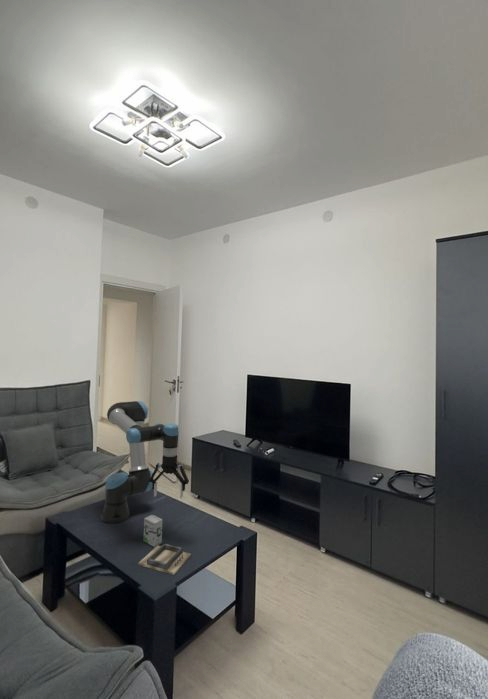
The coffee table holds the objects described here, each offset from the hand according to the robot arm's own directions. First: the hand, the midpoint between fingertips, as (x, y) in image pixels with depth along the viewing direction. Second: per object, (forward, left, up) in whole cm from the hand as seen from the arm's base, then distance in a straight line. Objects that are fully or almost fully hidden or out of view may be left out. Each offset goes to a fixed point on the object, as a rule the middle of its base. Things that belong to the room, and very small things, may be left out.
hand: (168, 496), depth 177 cm
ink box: (-4, -7, -21) cm, 22 cm away
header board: (+10, -18, -21) cm, 29 cm away
